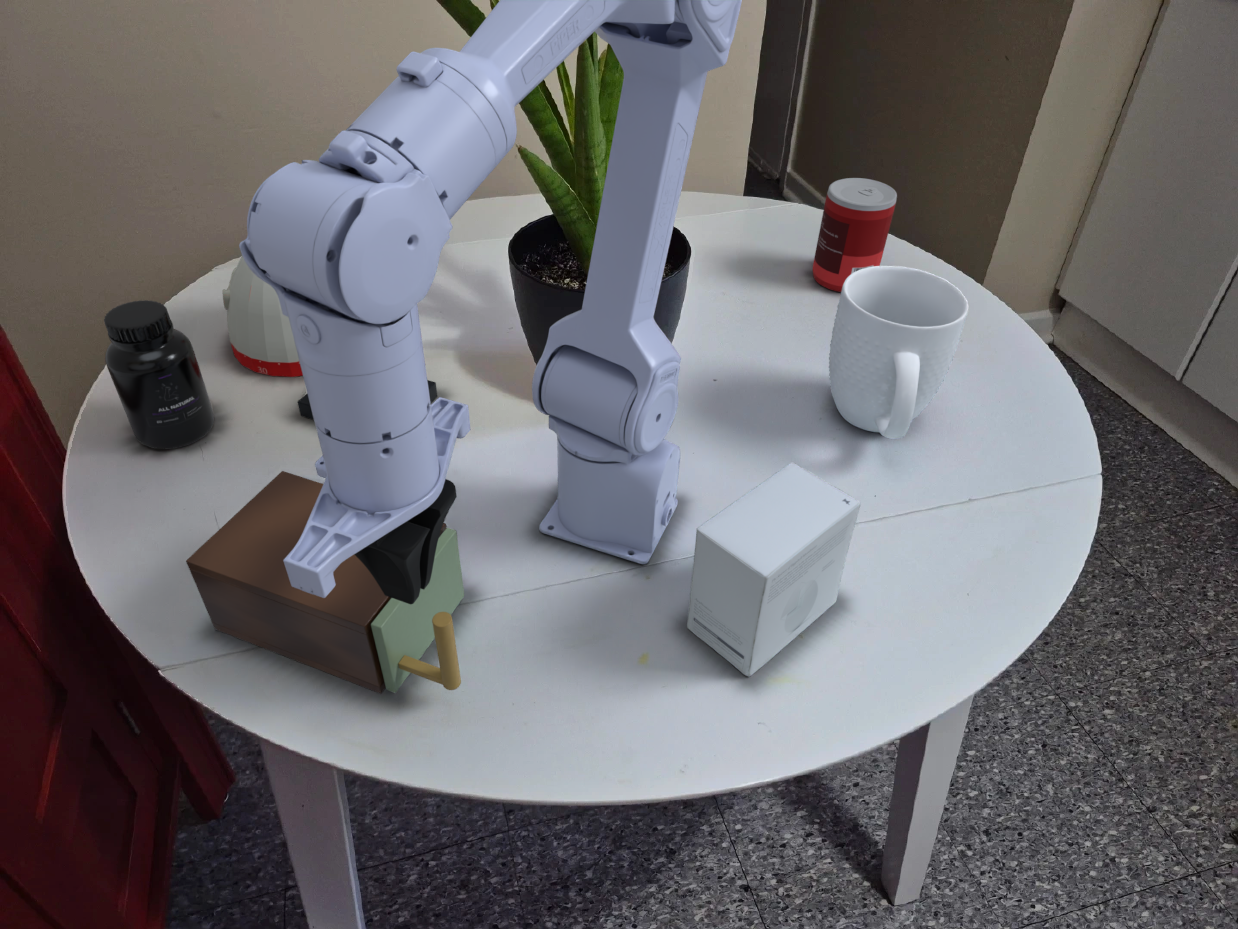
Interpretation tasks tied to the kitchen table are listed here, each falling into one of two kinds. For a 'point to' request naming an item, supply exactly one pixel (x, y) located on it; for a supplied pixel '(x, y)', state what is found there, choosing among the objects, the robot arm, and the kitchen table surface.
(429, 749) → the kitchen table surface
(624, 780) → the kitchen table surface
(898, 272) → the mug
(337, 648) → the shelf cabinet
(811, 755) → the kitchen table surface
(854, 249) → the canned food
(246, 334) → the kitchen timer
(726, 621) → the cosmetics box
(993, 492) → the kitchen table surface
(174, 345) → the supplement bottle
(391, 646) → the shelf door
